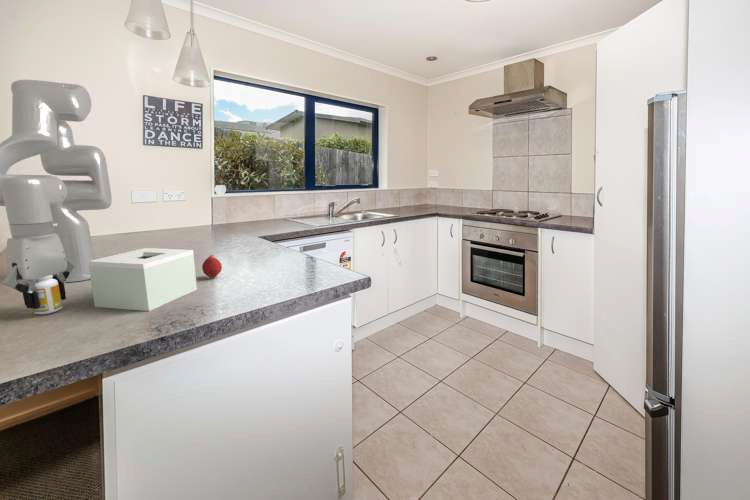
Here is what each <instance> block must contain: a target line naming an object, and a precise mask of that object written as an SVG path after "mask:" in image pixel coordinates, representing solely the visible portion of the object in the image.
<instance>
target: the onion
mask: <svg viewBox="0 0 750 500" xmlns="http://www.w3.org/2000/svg"><path fill="white" fill-rule="evenodd" d="M201 267H202V272H203V274H204V275H205V276H207V277H209V278H211V279H215V278H217V276H218V275H219V274H220V273H221V272H222V269H223V266H222V263H221V261H220V260H219V259H217V258H216V257H214V254H209V255H208V258H206V259H205V260H204V262H203V263H202V265H201Z"/></svg>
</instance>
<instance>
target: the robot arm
mask: <svg viewBox="0 0 750 500" xmlns="http://www.w3.org/2000/svg"><path fill="white" fill-rule="evenodd" d="M10 91H11V94H12V96H11V97H12V101H11V102H12V103H11V104H12V109H11V114H12V117H11V118H12V119H11V120H12V121H11V124H12V125H11V126H12V127H11V129H12V130H11V136H9V137H8V138H7V139H4V140H2V142H0V207H5V212H6V216H7V221H8V227H9V231H10V236H11V237H8V238H7V240H6V247H5V249H6V253H5V255H6V267H7V272H8V273H7V275H6V277H4V280H3V281H2V285H4V286H7V287H9V288H11V289H14V290H16V291H18V292H19V293H22V297H23V302H24V305H25V307H26V308H27V309H32V310H33V309H38V308H39V307H40V304H39V299H38V294H37V292H34V287H35V281H36V280H37V279H40V278H43V277H45V276H48V275H53V277H52V279H56V280H57V281H58V284H59V290H60V295H61V301H65V300H66V299H67V296H66V289H65V288H66V286H65V284H66V283H74V282H76V283H77V282H81V281H88V280H91V278H90V271H89V265H88V261H91V260H95V259H94V258H95V256H94V250H93V246H92V245H93V244H92V238H91V232H90V225H89V223H88V221H87V220H86V219H85V217H83V216H82V215H81V214H79V213H78V211H96V210H107V209H108V208H110V207H111V205H112V201H113V199H112V190H111V184H110V177H109V171H108V164H107V161H106V160H107V159H106V156H105V153H104V152H103V151H102V149H101V148H99V147H97V146H94V145H84V144H83V145H81V144H75V141H74V135H73V129H72V127H71V126H70V125H69V123H67V122H76V123H77V122H79V123H80V122H83V121H85V120H86V119H87V117H88V116H89V114H90V112H91V109H92V100H91V96H90V93H89V91H88V90H87V88H85V86H82V85H81V84H80V85H79V84H75V83H65V82H56V81H55V82H54V81H49V80H47V81H46V80H39V79H38V80H37V79H17V80H14V81H13V82H12V83H11V85H10ZM38 155H39V156H40V162H41V166H42V168H43V170H44V171H45V172H46V173H47V174H7V173H8V171H9V169H11V167H12V166H14V165H15V164H16V163H19V162H21V161H23V160H26V159H30V158H31V157H35V156H38ZM48 174H49V175H48ZM57 176H60V177H72V176H73V177H89V178H91V180H90V179H89V180H82V179H81V180H78V179H77V180H76V179H74V180H73V179H68V180H67V179H61V178H59V177H57ZM18 280H19V282H17V281H18Z"/></svg>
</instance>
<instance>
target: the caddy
mask: <svg viewBox="0 0 750 500" xmlns="http://www.w3.org/2000/svg"><path fill="white" fill-rule="evenodd" d="M194 255H195V253H194V250H193V249H180V248H179V249H176V248H159V247H158V248H155V247H154V248H153V247H144V248H143V247H142V248H139V249H134V250H131V251H126V252H122V253H119V254H113V255H109V256H105V257H104V256H103V257H100V258H96V259H94V260H91V261H88V265H89V271H90V278H91V279H90V282H91V283H90V284H91V290H92V296H93V302H94V307H95V308H107V309H117V310H118V309H119V310H132V311H142V312H150V311H152V310H155V309H157V308H160V307H162V306H164V305H166V304H168V303H171V302H173V301H175V300H177V299H179V298H181V297H182V298H183V296H186V295H188V294H190V293H193V292H195V291H197V290H198V286H197V285H198V284H197V276H196V275H197V274H196V266H195V265H196V264H195V256H194Z"/></svg>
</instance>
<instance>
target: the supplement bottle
mask: <svg viewBox="0 0 750 500" xmlns="http://www.w3.org/2000/svg"><path fill="white" fill-rule="evenodd" d="M52 277H53V275H48V276H45V277H43V278H40V279H37V280H36V281H35V287H34V292H37V294H38V299H39V304H40V307H39V308H38V309H32V311H33V313H34V314H35V315H47V314H51V313H55V312H58V311H60V310H62V309H63V300H61V295H60V290H59V284H58V281H57V280H56V279H52Z"/></svg>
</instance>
